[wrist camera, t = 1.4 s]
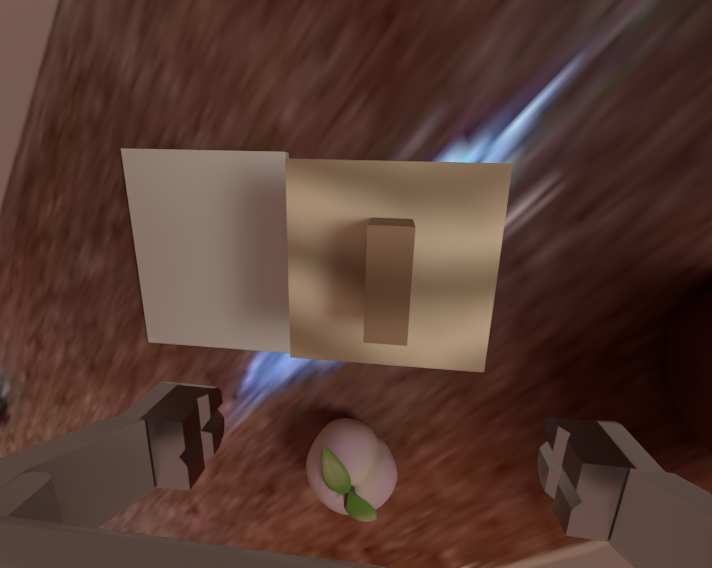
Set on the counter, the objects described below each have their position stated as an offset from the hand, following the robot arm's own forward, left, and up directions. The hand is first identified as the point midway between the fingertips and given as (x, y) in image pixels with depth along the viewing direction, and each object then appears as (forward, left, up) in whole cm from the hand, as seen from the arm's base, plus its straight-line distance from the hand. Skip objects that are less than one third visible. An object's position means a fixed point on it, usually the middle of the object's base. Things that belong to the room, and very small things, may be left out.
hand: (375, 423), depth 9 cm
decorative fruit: (+22, -3, -28) cm, 35 cm away
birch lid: (0, 0, -17) cm, 17 cm away
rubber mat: (+2, -18, -27) cm, 33 cm away
